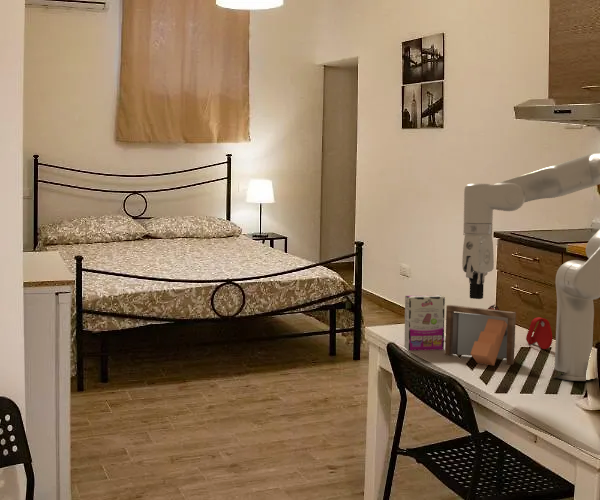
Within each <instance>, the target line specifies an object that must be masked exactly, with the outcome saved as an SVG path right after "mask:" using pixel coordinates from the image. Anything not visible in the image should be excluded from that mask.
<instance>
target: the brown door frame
mask: <svg viewBox="0 0 600 500" xmlns="http://www.w3.org/2000/svg"><path fill="white" fill-rule="evenodd" d="M445 308H446V311H445V312H446V313H445V317H446V318H445V333H446V338H445V342H444V355H446V356H451V355H453V354H452V343H453V313H468V314H479V315H487V316H496V317H504V318H508V329H507V355H506V360H505V361H506V362H505V365H509V366H512V365H514V364H515V344H516V340H515V339H516V319H517V312H516V311H507V310H506V311H505V310H500V309H499V310H491V309H488V308H481V307H472V306H464V305H463V306H462V305H455V304H448V305H446V307H445Z"/></svg>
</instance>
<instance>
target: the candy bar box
mask: <svg viewBox="0 0 600 500" xmlns="http://www.w3.org/2000/svg"><path fill="white" fill-rule="evenodd" d="M445 298H446V297H445V296H443V295H441V294H433V295H432V294H431V295H430V294H427V295H425V294H424V295H405V296H404V345H403V346H404V348H405V349H407V350H408V351H445V342H444V333H445V312H446V311H445V308H446V307H445V305H446V304H445V303H446V302H445V301H446V299H445Z"/></svg>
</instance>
